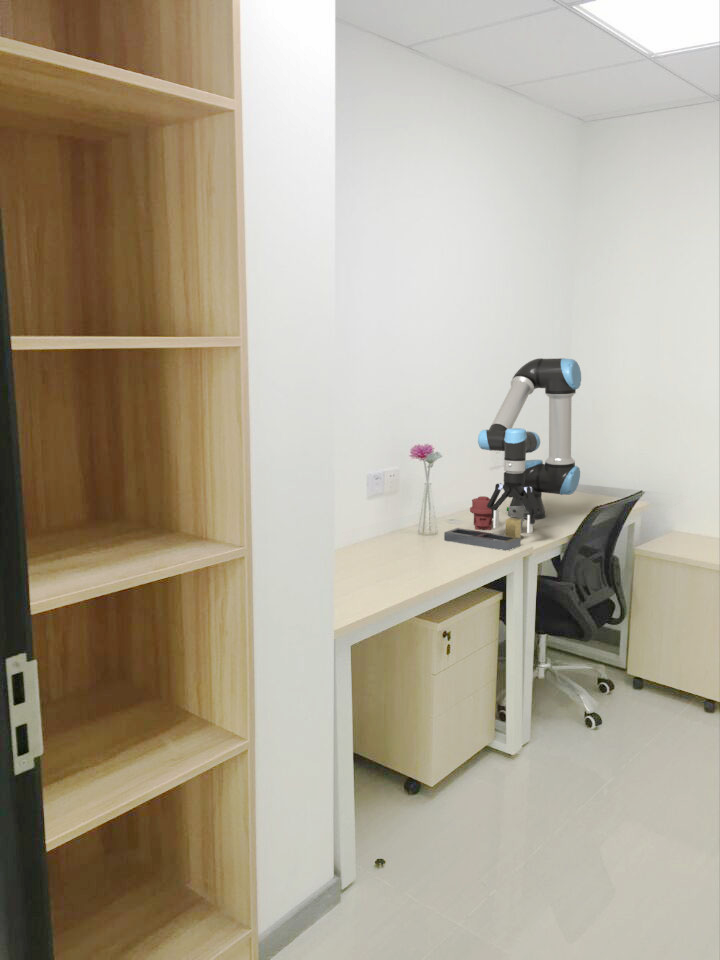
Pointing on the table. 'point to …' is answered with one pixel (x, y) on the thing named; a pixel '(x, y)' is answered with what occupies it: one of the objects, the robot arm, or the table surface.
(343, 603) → the table surface
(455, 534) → the rack frame
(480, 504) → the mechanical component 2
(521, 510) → the mechanical component
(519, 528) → the brushed brass bar
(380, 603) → the table surface
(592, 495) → the table surface
